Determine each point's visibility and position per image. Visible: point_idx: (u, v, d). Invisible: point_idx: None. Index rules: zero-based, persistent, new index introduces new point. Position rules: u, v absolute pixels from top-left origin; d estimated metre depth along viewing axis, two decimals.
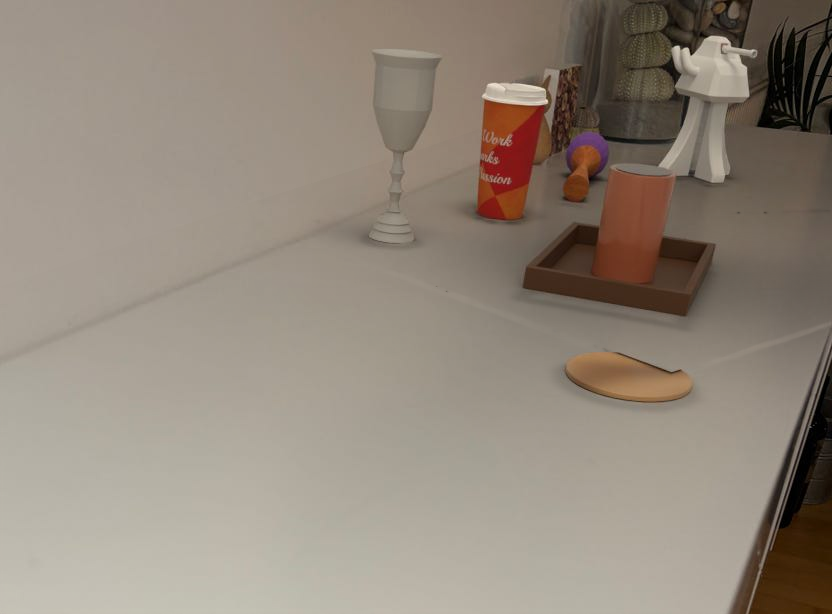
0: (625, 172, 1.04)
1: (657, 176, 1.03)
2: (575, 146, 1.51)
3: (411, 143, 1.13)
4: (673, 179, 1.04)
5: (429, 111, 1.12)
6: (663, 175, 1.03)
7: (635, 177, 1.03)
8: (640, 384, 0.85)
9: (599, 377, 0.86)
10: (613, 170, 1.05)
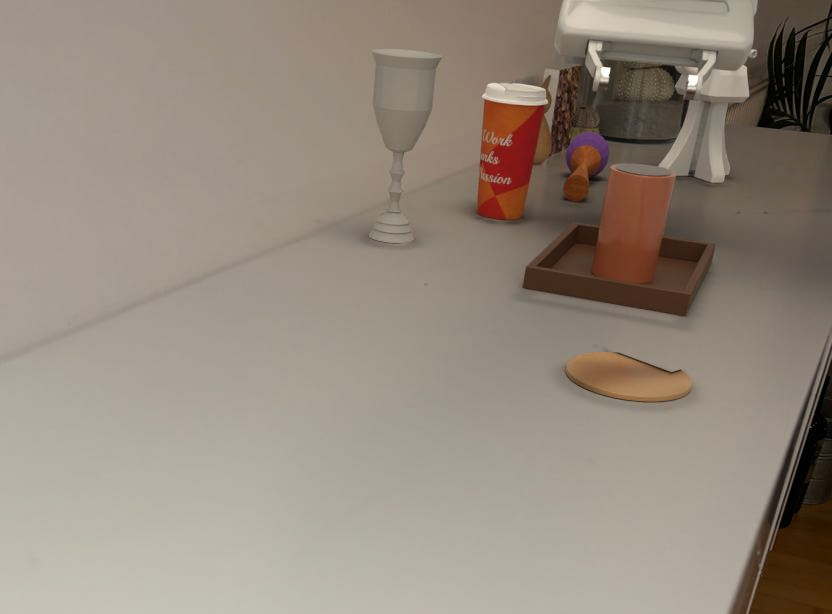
0: (625, 172, 1.04)
1: (657, 176, 1.03)
2: (575, 146, 1.51)
3: (411, 143, 1.13)
4: (673, 179, 1.04)
5: (429, 111, 1.12)
6: (663, 175, 1.03)
7: (635, 177, 1.03)
8: (640, 384, 0.85)
9: (599, 377, 0.86)
10: (613, 170, 1.05)
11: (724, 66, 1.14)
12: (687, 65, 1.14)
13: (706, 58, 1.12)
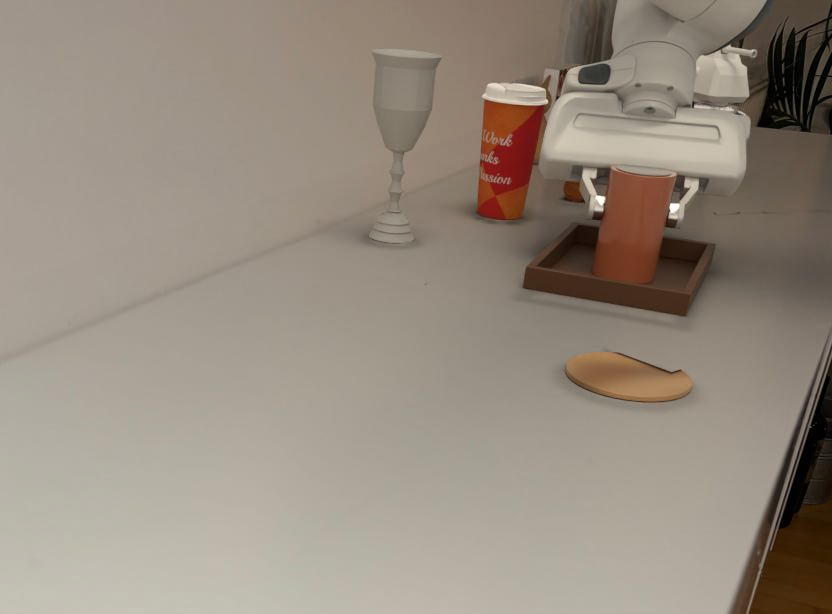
0: (625, 172, 1.04)
1: (657, 176, 1.03)
2: None
3: (411, 143, 1.13)
4: (673, 179, 1.04)
5: (429, 111, 1.12)
6: (663, 175, 1.03)
7: (635, 177, 1.03)
8: (640, 384, 0.85)
9: (599, 377, 0.86)
10: (613, 170, 1.05)
11: (715, 193, 1.08)
12: (677, 190, 1.09)
13: (688, 185, 1.07)
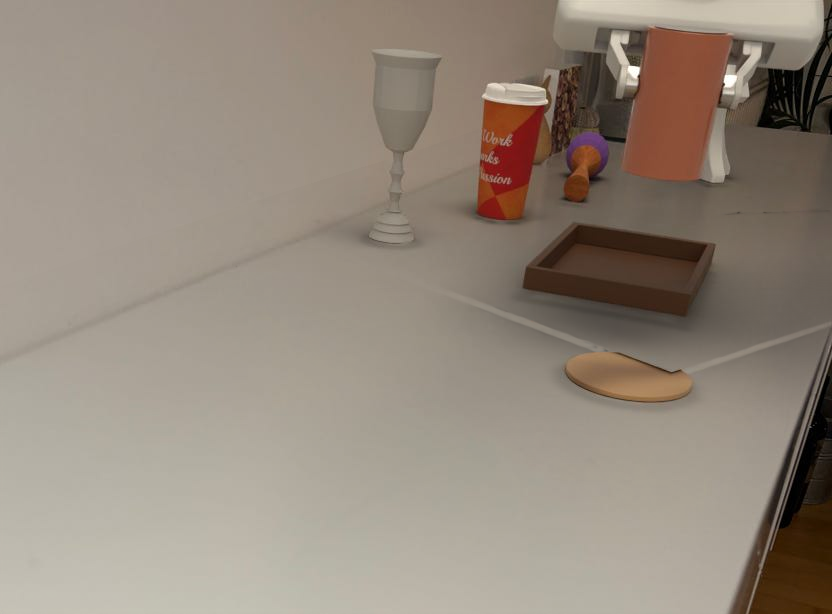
0: (668, 29, 0.79)
1: (710, 34, 0.79)
2: (575, 146, 1.51)
3: (411, 143, 1.13)
4: (730, 38, 0.80)
5: (429, 111, 1.12)
6: (718, 33, 0.79)
7: (681, 35, 0.79)
8: (640, 384, 0.85)
9: (599, 377, 0.86)
10: (652, 29, 0.80)
11: (782, 64, 0.84)
12: (732, 62, 0.85)
13: (748, 52, 0.82)
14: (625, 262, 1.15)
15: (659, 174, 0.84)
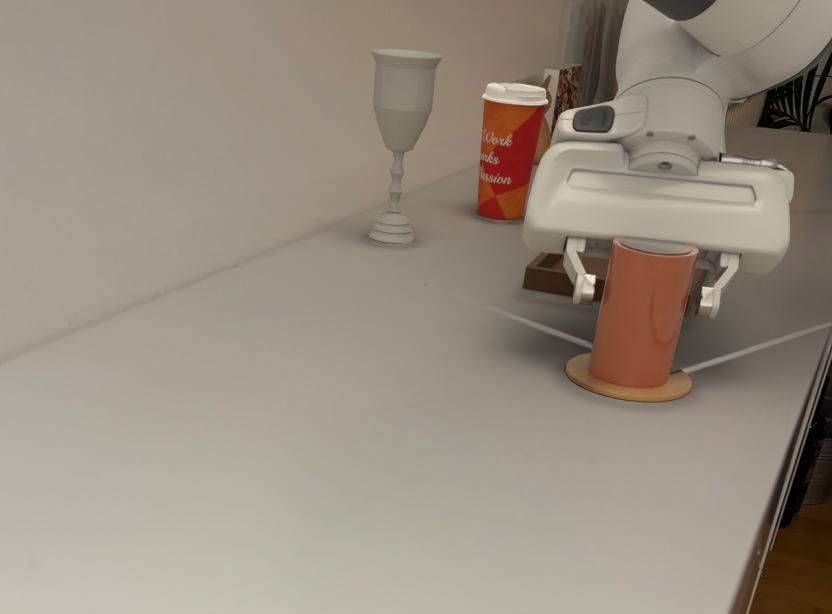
0: (632, 249, 0.80)
1: (674, 255, 0.79)
2: None
3: (411, 143, 1.13)
4: (694, 257, 0.80)
5: (429, 111, 1.12)
6: (682, 253, 0.80)
7: (645, 256, 0.79)
8: None
9: None
10: (616, 246, 0.81)
11: (749, 270, 0.85)
12: (700, 267, 0.85)
13: (725, 264, 0.83)
14: None
15: (625, 381, 0.84)
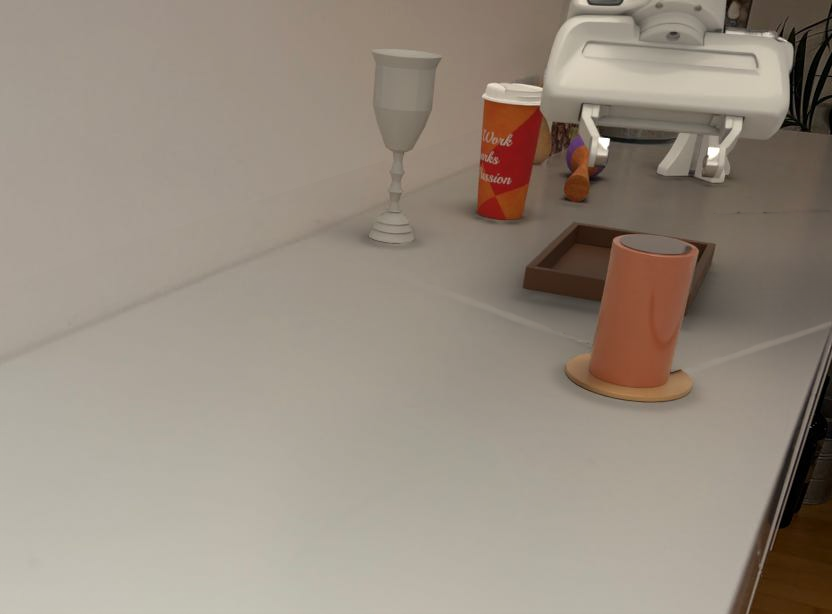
0: (632, 249, 0.80)
1: (674, 255, 0.79)
2: (575, 146, 1.51)
3: (411, 143, 1.13)
4: (694, 257, 0.80)
5: (429, 111, 1.12)
6: (682, 253, 0.80)
7: (645, 256, 0.79)
8: None
9: None
10: (616, 246, 0.81)
11: (752, 135, 0.91)
12: (706, 132, 0.91)
13: (730, 126, 0.89)
14: None
15: (625, 381, 0.84)
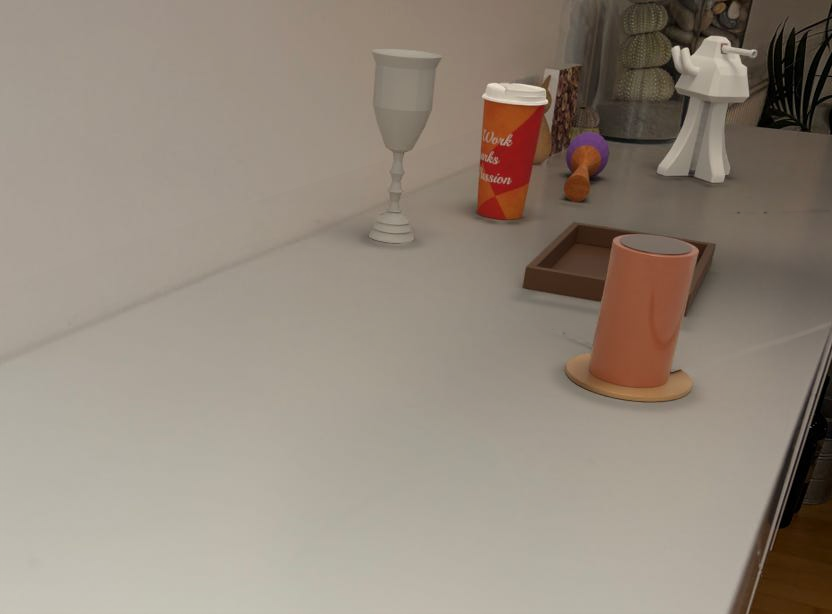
0: (632, 249, 0.80)
1: (674, 255, 0.79)
2: (575, 146, 1.51)
3: (411, 143, 1.13)
4: (694, 257, 0.80)
5: (429, 111, 1.12)
6: (682, 253, 0.80)
7: (645, 256, 0.79)
8: None
9: None
10: (616, 246, 0.81)
11: None
12: None
13: None
14: None
15: (625, 381, 0.84)
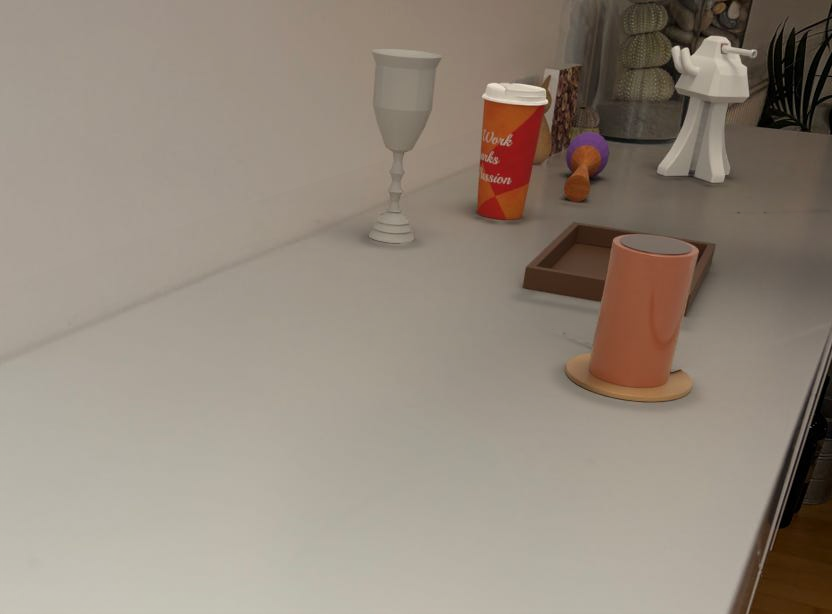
0: (632, 249, 0.80)
1: (674, 255, 0.79)
2: (575, 146, 1.51)
3: (411, 143, 1.13)
4: (694, 257, 0.80)
5: (429, 111, 1.12)
6: (682, 253, 0.80)
7: (645, 256, 0.79)
8: None
9: None
10: (616, 246, 0.81)
11: None
12: None
13: None
14: None
15: (625, 381, 0.84)
